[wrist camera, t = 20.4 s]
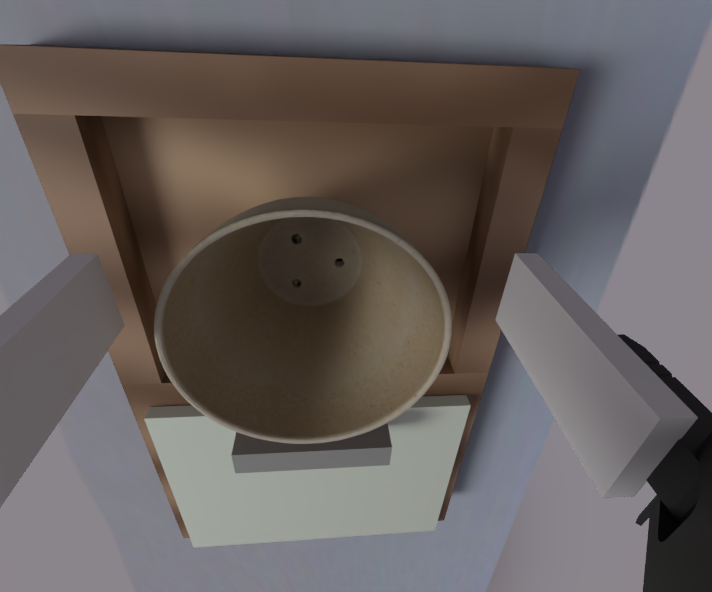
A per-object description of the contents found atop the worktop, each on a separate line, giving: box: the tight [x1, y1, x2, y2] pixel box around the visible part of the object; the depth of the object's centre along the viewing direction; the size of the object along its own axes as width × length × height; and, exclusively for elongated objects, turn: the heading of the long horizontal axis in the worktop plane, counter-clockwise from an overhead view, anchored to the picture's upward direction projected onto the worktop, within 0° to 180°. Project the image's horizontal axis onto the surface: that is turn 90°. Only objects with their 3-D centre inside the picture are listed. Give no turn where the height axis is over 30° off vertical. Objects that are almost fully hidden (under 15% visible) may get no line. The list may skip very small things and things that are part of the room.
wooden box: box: [0, 45, 580, 538], centre depth 22 cm, size 31×20×2 cm, turn 178°
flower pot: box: [154, 197, 452, 444], centre depth 16 cm, size 10×10×7 cm
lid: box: [144, 395, 471, 547], centre depth 24 cm, size 14×18×3 cm
